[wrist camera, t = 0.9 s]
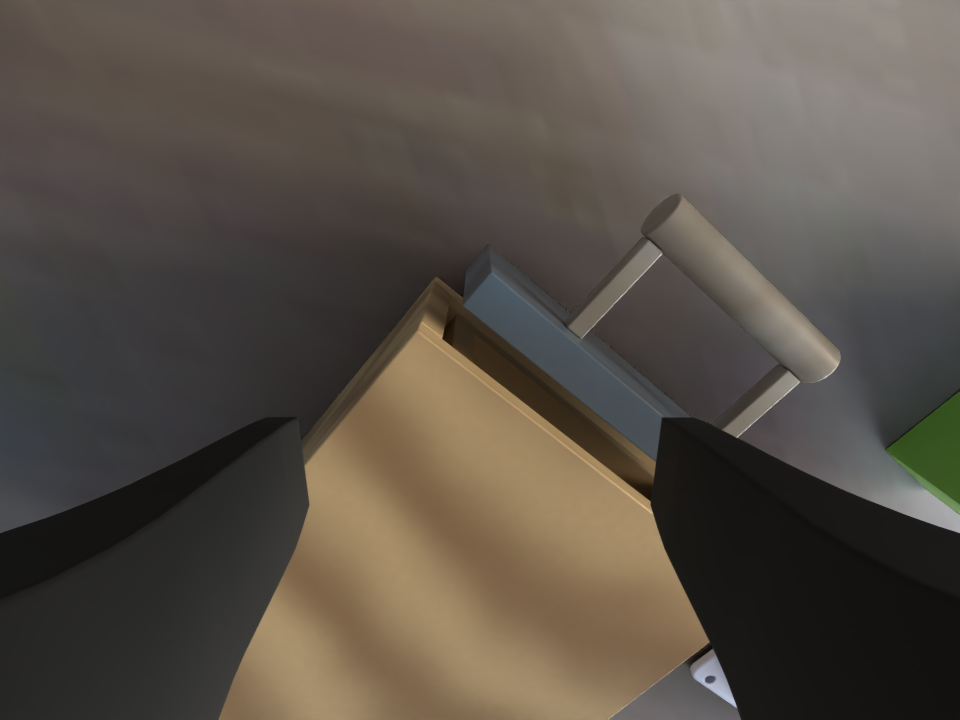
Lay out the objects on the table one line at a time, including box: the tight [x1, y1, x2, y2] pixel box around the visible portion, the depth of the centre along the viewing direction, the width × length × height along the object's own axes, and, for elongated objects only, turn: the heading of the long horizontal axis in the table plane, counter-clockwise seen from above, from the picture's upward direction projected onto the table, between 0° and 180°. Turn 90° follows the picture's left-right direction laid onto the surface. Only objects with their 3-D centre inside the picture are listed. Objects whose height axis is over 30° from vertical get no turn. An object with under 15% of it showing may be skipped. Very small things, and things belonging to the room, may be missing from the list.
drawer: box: [442, 194, 841, 502], centre depth 19 cm, size 22×12×5 cm, turn 140°
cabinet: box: [219, 277, 709, 720], centre depth 21 cm, size 19×14×7 cm
